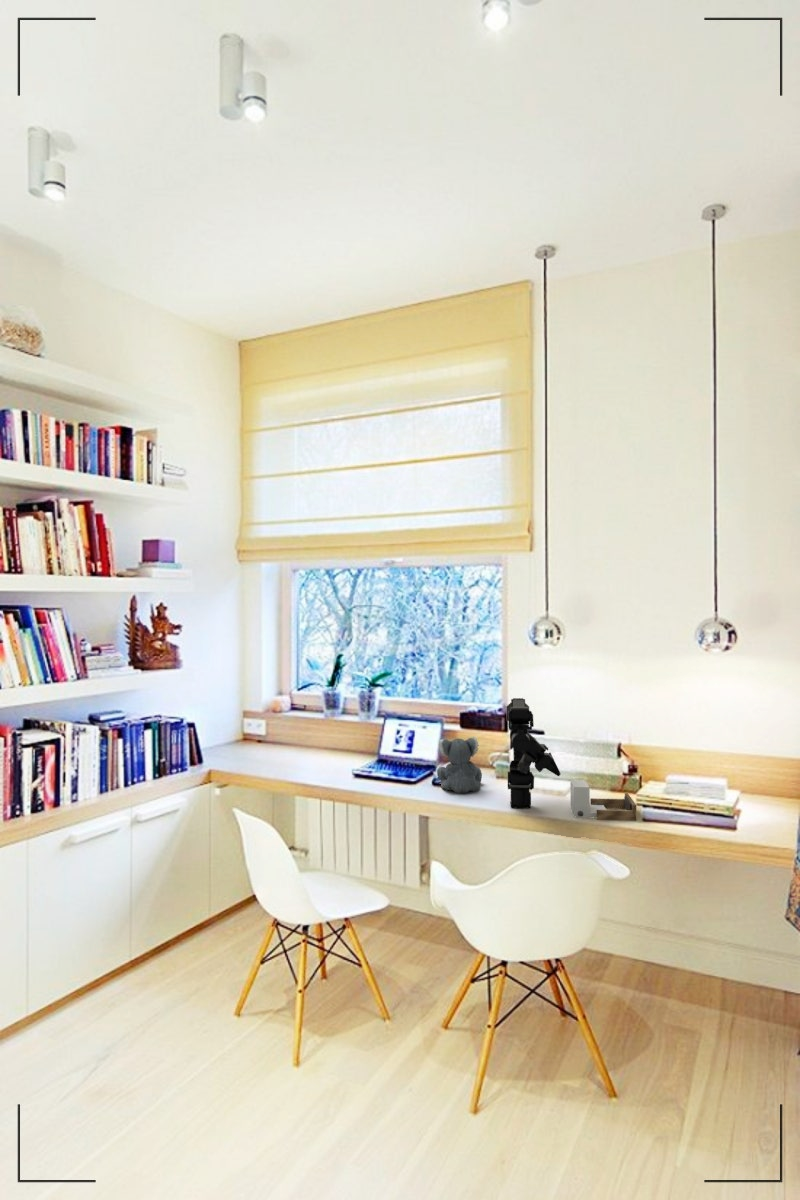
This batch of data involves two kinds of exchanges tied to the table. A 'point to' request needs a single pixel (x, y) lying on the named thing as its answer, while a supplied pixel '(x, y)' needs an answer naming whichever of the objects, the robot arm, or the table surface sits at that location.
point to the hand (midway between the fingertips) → (559, 775)
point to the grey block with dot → (582, 800)
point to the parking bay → (616, 803)
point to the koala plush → (459, 765)
